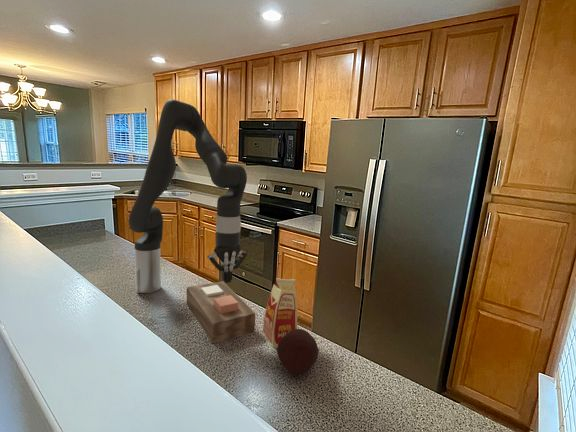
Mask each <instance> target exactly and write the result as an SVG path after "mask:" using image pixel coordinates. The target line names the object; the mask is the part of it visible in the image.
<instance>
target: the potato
mask: <svg viewBox="0 0 576 432" xmlns="http://www.w3.org/2000/svg"><path fill="white" fill-rule="evenodd" d="M276 354H277V357H278V360H279V363H280V364H281V365H282V368H283V369H285V371H286V372H287V373H288V375H291V376H293V377H297V378H299V377H302V376H304V375H306V374H308V372H309V371H310V370H312V368H313V367H314V366H315V363H316V362H317V360H318V357H319V347H318V343H317V341H316V339H315V338H314V337H313V336H312V335H311V333H309V332H308V331H307V330H304V329H302V328H297V329H294V330H291V331H290V332H289V333H287V334H286V335H285V336H284V337H283V338H282V340H281V341H280V342H279V344H278V347H276Z"/></svg>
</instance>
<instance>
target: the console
mask: <svg viewBox="0 0 576 432" xmlns="http://www.w3.org/2000/svg"><path fill="white" fill-rule="evenodd" d="M214 285H218V286H219V287H220V288H221V289H222V290H223V294H221V295H216V296H211V297H205V295H204V294H203V293H202V292H201V288H202V287H208V286H214ZM229 295H232V296H233V298H234V299H235V300H236V301H237V302H238V310H237V311H232V312H228V313H224V314H219V313H218V312H217V310H216V309H215V308H214V298H219V297H224V296H229ZM186 305H187V307H188V309H189V310H190V311H191V313H192V314H193V316H194V317H195V319H196V320H197V322H198V324H199V325H200V327H201V329H202V330H203V331H204V333H205V334H206V336H207V338H208V339H209V341H210V342H211V344H215V343H219V342H222V341H227V340H230V339H234V338H237V337H241V336H245V335H248V334H252V333H255V331H256V328H255V327H256V315H257V313H256V312H255V311H254V310H253V309H252V308H251V307H250V306H249V305H248V304H247V303H246V302H245V301H244V300H243V299H241V297H240V296H239V295H238V294H237V293H235V291H234V290H233V289H232V288H231V287H230V286H229V285H228V284H227V283H225V282H224V281H223V280H222V281H217V282H216V281H215V282H210V283H205V284H198V285H194V286H193V285H192V286H187V287H186Z"/></svg>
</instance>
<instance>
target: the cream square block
mask: <svg viewBox="0 0 576 432" xmlns="http://www.w3.org/2000/svg"><path fill="white" fill-rule="evenodd" d="M201 292H202V293H203V294H204V295H205V297H211V296H216V295H221V294H223V290H222V289H221V288H220V287H219V286H218V285H214V286H208V287H202V288H201Z"/></svg>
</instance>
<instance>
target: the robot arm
mask: <svg viewBox="0 0 576 432" xmlns="http://www.w3.org/2000/svg"><path fill="white" fill-rule="evenodd" d="M159 117H160V118H159V121H158V122H159V123H158V127H157V132H156V138H155V141H154V144H153V147H152V151H151V154H150V157H149V160H148V163H147V166H146V169H145V172H144V177H143V179H142V183H141V185H140V189H139V191H138V194H137V197H136V199H135V202H134V203H133V206H132V207H131V210H130V212H129V217H128V225H129V227H130V230H131V231H132V232H134V233H136V234H138V233H140V234H141V233H142V235H141V236H139V237H138V239H135V241H134V267H133V268H134V269H133V270H134V288H135V292H136V294H150V293H155V292H158V291H159V290H161V288H162V280H161V279H162V276H161V273H162V270H161V267H162V266H161V263H162V262H161V243H162V241H163V234H164V233H163V232H164V231H163V230H164V217H163V213H162V211H161V210H160V209H159V208H158V207H157V206H154V204H155V202H156V201H157V200H158V199H159V198H160V196H162V194H164V192H165V191H166V190H167V189H168V188H169V187H170V185H171V183H172V181H173V178H174V176H175V172H176V169H177V161H176V157H175V153H174V151H173V146H172V143H173V142H172V141H173V135H174V133H175V130H177V131H183V132H188V134H190V135H191V136H193V138H194V139H195V142H194V146H195V152H196V153H197V155H198V157H199V158H200V159H201V160H202V161H203V163H204V164H205V165H206V167H207V171H208V173H209V177H210V180H211V181H212V183H213V185H215V186H216V187H218V188H220V189H228V190H227V192H226V193H225V194H223V195H221V196H219V197H218V199H217V202H216V221H215V247H214V249H213V252H212V253H211V254H208V255H207V259H208V261H209V262H210V263H211V264H212V265H213V266H214V267H215V268H216V269H217V270H218V271H219V272H221V279H222V281H223V282H224V283H225V284H229V283H231V281H232V280H233V271H234V270H237V269H238V268H239V267H240V266H241V264H242V263H243V262H244V260H245V259H246V257H247V256H248V253H247V252H245V251H244V250H242V248H241V246H240V245H241V229H242V226H241V224H242V223H241V204H242V203H241V202H242V199H243V197H244V193H245V189H246V186H247V181H248V176H247V171H246V169H245V168H244V166H243V165H240V164H227V163H228V156H227V153H226V152H225V150H223V148H222V147H221V146H220V145H219V143H218V142H217V141H216V140H215V138H214V137H213V136H212V134H211V133H210V131H209V129H208V127H207V125H206V123H205V122H204V120H203V118H202V115H201V114H200V113H199V111H198V110H197V108H196V107H195V106H193V105H191V104H190V103H187V102H183V101H180V100H176V99H173V98H170V99H168V100H166V102H165V103H164V105H163V107H162V109H161V113H160V116H159ZM217 259H218V260H220V264H221V265H220V264H219V263H218V261H217Z"/></svg>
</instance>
